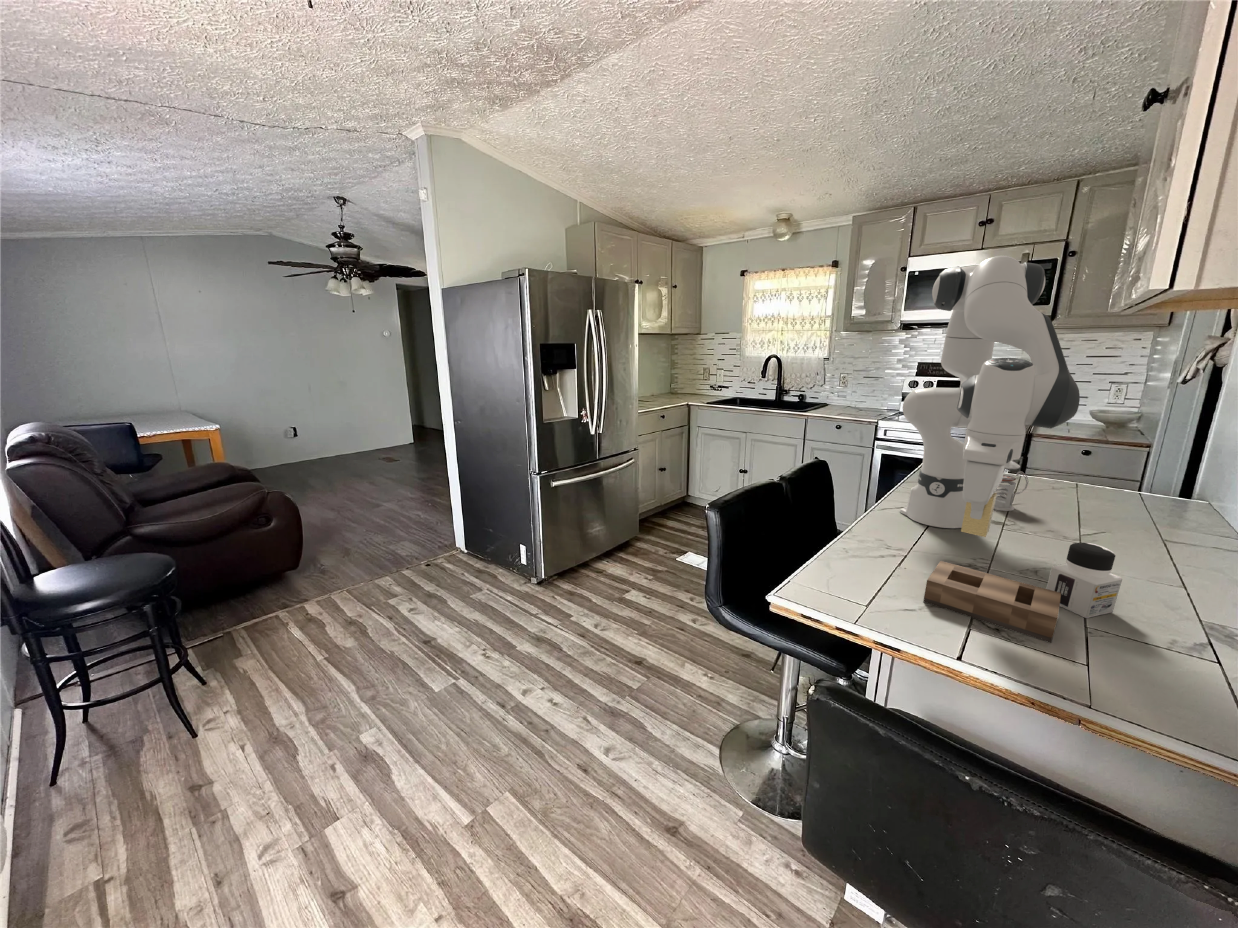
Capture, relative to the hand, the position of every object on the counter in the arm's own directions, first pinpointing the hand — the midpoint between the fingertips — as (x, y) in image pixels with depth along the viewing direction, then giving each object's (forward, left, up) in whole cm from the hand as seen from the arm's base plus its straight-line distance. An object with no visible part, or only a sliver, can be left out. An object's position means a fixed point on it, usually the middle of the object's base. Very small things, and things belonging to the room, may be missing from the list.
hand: (978, 514), depth 95 cm
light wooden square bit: (0, 0, -4) cm, 4 cm away
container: (-14, +18, -19) cm, 30 cm away
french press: (-77, -2, -19) cm, 79 cm away
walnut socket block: (0, +5, -19) cm, 20 cm away
